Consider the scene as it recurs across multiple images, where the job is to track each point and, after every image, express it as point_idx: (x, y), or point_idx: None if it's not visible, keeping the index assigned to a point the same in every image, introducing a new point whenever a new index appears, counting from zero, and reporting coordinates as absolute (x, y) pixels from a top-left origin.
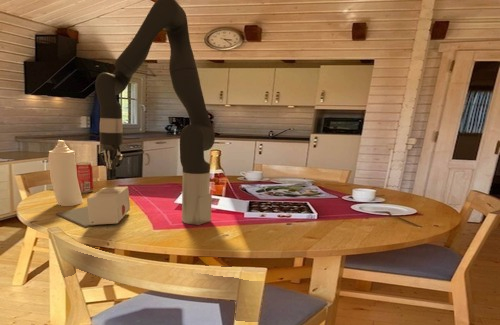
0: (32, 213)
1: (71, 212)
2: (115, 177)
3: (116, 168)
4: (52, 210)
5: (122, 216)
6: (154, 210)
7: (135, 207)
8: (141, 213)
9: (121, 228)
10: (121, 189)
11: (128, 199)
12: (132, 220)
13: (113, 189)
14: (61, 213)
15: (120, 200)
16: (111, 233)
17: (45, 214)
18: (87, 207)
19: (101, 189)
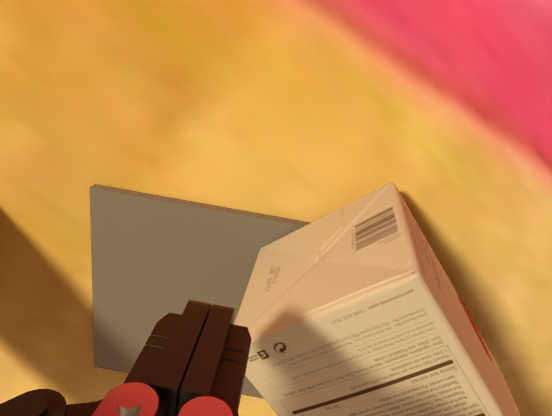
0: (15, 389)
1: (142, 335)
2: (248, 331)
3: (222, 403)
4: (21, 331)
5: (470, 316)
6: (500, 23)
7: (318, 47)
8: (457, 134)
9: (522, 359)
10: (447, 372)
11: (417, 236)
12: (495, 259)
13: (379, 390)
14: (124, 362)
15: (512, 409)
16: (522, 412)
17: (66, 376)
18: (111, 243)
19: (268, 396)
